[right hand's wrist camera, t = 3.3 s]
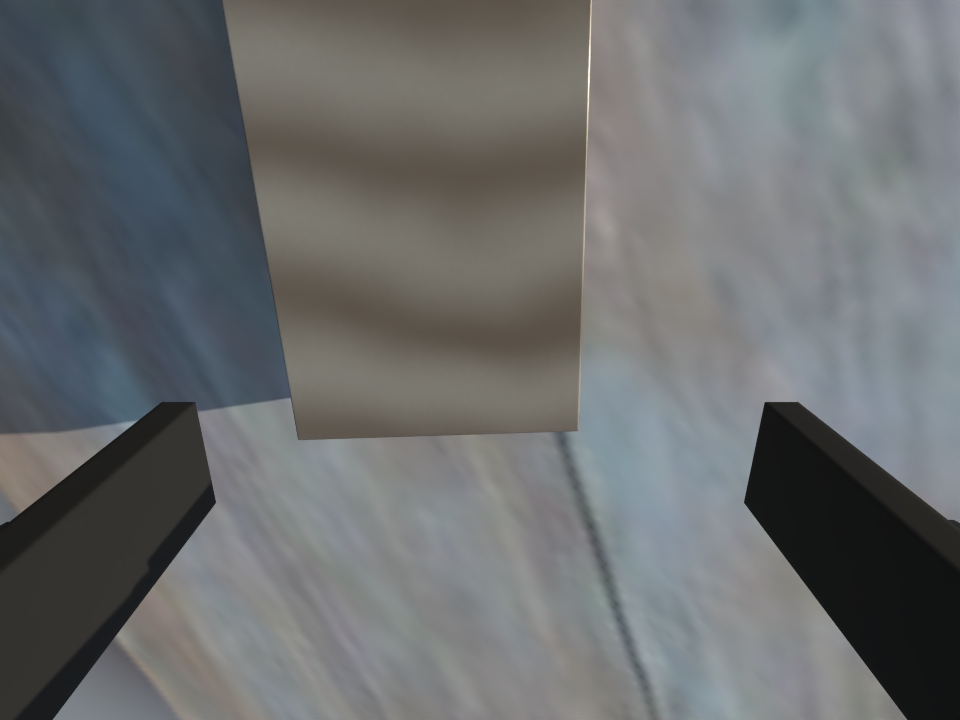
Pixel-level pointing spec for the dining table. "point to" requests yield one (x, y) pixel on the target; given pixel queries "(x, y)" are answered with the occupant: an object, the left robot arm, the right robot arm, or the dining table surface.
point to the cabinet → (421, 207)
